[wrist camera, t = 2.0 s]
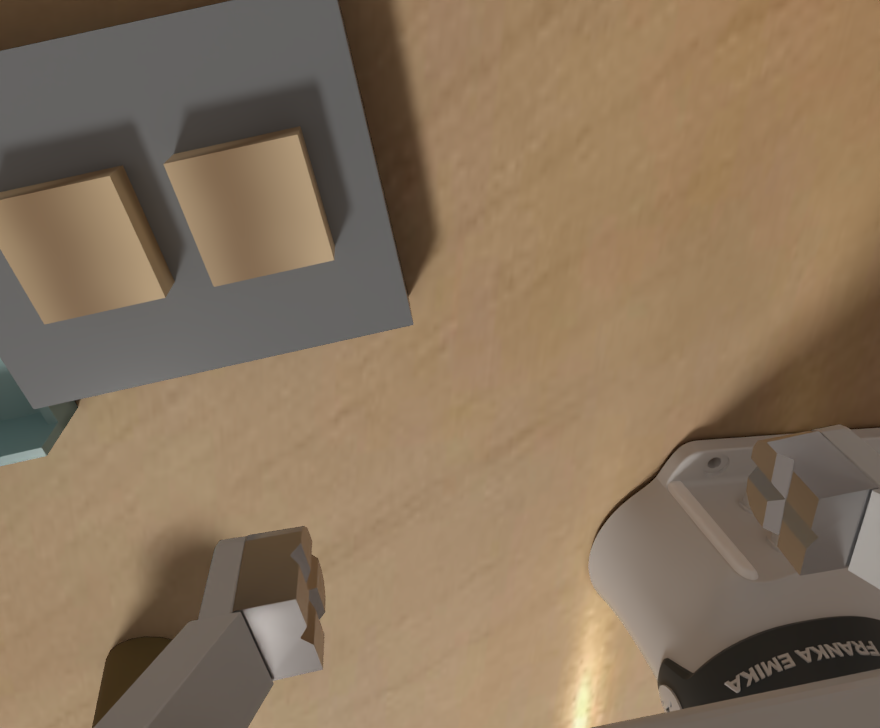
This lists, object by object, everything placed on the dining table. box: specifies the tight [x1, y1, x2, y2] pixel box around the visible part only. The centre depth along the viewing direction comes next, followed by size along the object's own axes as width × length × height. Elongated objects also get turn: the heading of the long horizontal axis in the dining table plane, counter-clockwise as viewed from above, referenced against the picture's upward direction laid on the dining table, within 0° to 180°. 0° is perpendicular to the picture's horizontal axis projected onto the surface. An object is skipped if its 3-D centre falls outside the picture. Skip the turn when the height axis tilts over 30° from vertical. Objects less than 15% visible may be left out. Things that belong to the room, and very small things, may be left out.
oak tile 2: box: [0, 165, 175, 325], centre depth 25 cm, size 5×5×2 cm
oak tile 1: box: [164, 126, 335, 287], centre depth 25 cm, size 5×5×2 cm
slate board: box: [0, 0, 413, 409], centre depth 27 cm, size 18×14×3 cm
